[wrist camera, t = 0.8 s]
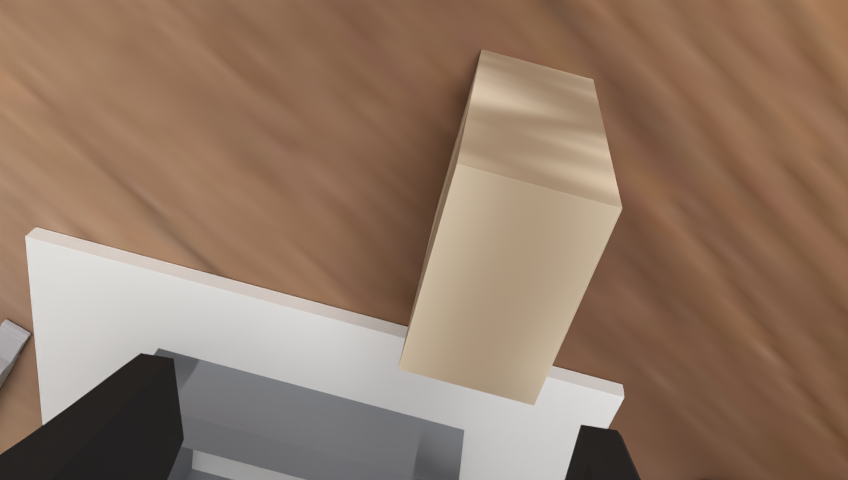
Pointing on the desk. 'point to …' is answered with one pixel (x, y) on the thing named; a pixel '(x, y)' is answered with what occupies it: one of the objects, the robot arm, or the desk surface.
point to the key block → (513, 230)
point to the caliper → (10, 347)
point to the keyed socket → (286, 378)
